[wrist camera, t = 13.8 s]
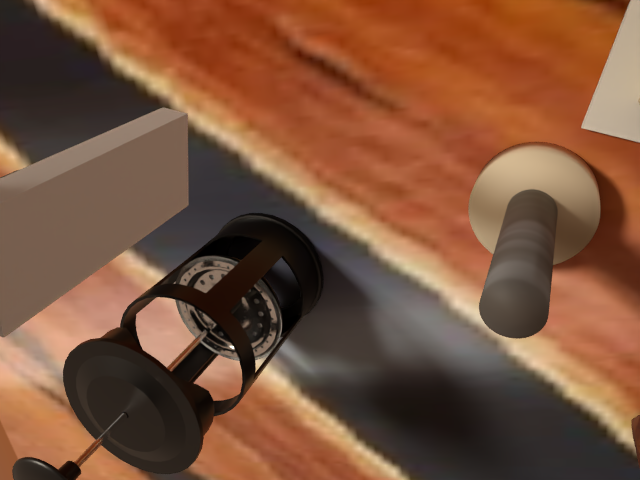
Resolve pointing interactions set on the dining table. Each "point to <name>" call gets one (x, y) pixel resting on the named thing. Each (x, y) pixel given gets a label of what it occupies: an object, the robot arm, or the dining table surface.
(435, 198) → the dining table surface
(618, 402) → the dining table surface
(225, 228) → the french press
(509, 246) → the peg stand
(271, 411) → the dining table surface
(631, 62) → the felt mat
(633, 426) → the wooden figurine
